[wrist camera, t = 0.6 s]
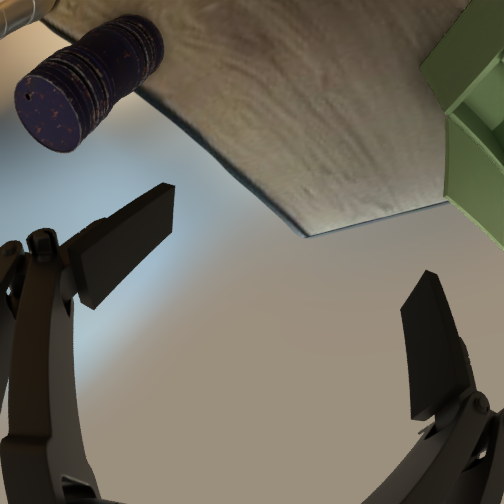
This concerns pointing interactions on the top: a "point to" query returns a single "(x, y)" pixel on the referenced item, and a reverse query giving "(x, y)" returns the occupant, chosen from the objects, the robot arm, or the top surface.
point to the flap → (474, 183)
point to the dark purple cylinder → (87, 81)
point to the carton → (473, 75)
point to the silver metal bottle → (21, 13)
